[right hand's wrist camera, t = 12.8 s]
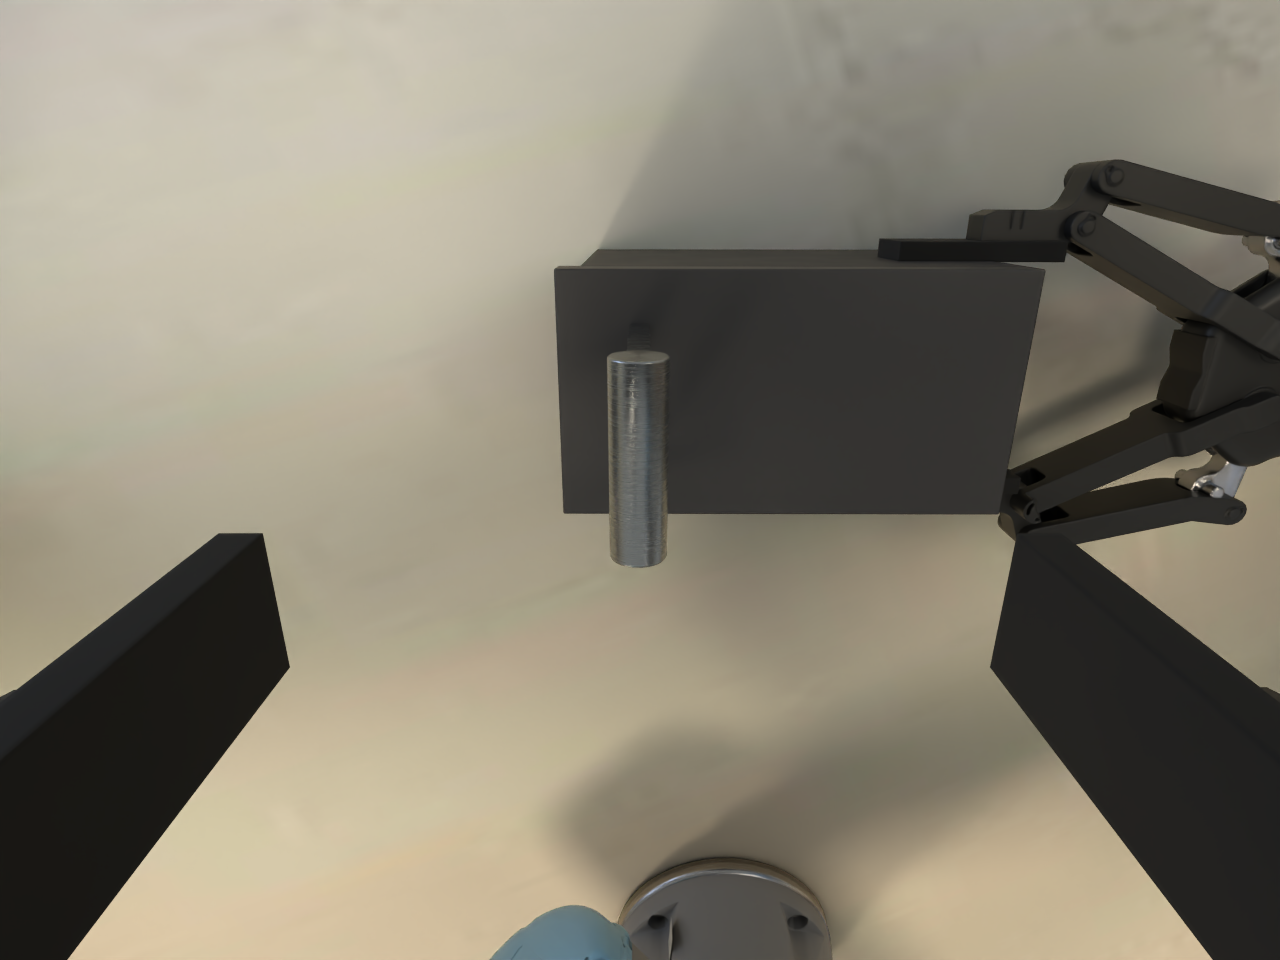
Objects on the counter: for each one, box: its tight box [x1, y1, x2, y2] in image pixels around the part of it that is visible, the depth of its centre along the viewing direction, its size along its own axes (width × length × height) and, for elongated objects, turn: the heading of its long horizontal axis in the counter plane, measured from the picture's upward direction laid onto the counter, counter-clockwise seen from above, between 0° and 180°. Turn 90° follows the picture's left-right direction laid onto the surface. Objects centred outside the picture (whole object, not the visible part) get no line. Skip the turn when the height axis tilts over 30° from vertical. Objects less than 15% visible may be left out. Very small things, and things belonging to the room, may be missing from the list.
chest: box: [581, 250, 1026, 267], centre depth 32 cm, size 16×9×11 cm, turn 90°
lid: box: [554, 266, 1045, 568], centre depth 23 cm, size 17×9×9 cm, turn 90°
